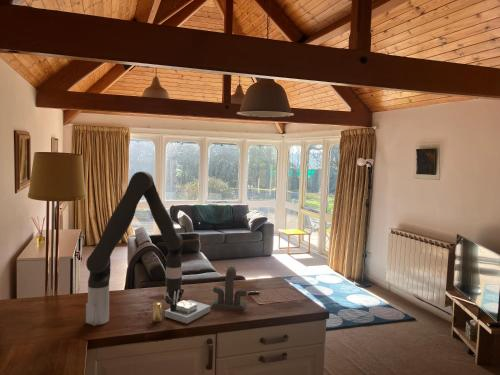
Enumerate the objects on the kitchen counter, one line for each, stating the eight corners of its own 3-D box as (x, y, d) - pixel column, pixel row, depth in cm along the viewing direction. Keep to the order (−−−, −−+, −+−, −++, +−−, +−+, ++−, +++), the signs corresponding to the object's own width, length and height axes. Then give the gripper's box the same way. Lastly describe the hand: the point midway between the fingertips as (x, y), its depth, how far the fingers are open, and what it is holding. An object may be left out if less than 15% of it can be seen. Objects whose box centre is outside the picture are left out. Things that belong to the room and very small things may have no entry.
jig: (186, 323, 185) (187, 317, 185) (164, 316, 192) (164, 310, 192) (210, 311, 200) (210, 305, 200) (188, 305, 207) (189, 299, 207)
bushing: (157, 322, 185) (157, 305, 184) (151, 320, 187) (151, 304, 186) (163, 319, 188) (163, 303, 188) (157, 317, 190) (157, 301, 190)
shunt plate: (187, 313, 189) (187, 308, 189) (173, 309, 193) (173, 304, 193) (197, 308, 195) (197, 304, 195) (183, 304, 199) (183, 300, 199)
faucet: (248, 299, 219) (249, 264, 217) (245, 310, 203) (246, 272, 202) (216, 297, 221) (217, 262, 219) (210, 307, 205) (211, 270, 203)
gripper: (170, 280, 177) (169, 317, 179) (189, 273, 189) (188, 308, 190) (157, 277, 181) (157, 314, 183) (177, 271, 193) (176, 305, 194)
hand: (173, 311), depth 186 cm, fingers closed
